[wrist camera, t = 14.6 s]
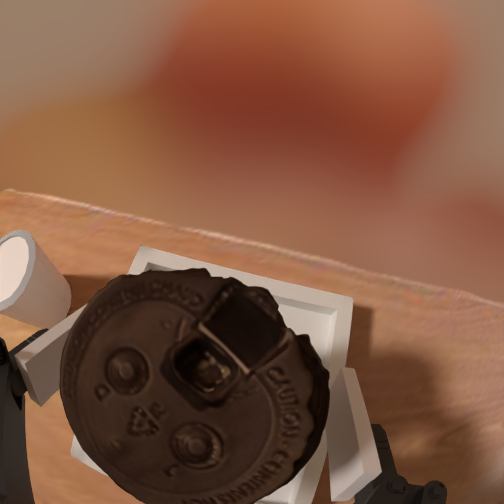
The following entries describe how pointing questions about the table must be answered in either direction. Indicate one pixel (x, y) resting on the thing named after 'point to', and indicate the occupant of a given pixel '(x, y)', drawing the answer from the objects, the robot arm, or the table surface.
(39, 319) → the shot glass
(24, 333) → the table surface
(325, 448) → the tray
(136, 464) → the coffee cup
